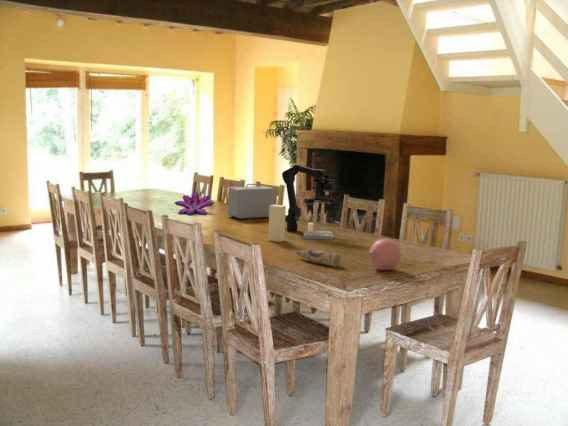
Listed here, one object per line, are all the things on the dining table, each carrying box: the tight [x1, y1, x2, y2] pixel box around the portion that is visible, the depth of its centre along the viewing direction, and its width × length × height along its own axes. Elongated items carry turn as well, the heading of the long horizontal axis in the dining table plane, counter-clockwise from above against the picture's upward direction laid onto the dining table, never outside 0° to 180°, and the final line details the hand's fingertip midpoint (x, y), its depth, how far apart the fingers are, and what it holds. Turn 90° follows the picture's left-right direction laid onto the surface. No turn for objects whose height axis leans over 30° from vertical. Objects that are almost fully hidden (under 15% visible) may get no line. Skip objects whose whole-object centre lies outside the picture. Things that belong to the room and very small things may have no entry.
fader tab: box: [306, 222, 315, 232], centre depth 366 cm, size 4×5×6 cm
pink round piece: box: [366, 238, 402, 271], centre depth 285 cm, size 15×20×15 cm
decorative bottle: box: [295, 248, 342, 268], centre depth 299 cm, size 26×8×7 cm, turn 49°
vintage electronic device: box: [227, 183, 278, 221], centre depth 433 cm, size 32×18×25 cm, turn 121°
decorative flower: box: [173, 191, 215, 216], centre depth 448 cm, size 31×31×10 cm
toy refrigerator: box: [267, 204, 287, 243], centre depth 350 cm, size 8×7×21 cm
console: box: [302, 230, 335, 240], centre depth 367 cm, size 18×16×3 cm
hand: (318, 214), depth 371 cm, fingers open, 9 cm apart
